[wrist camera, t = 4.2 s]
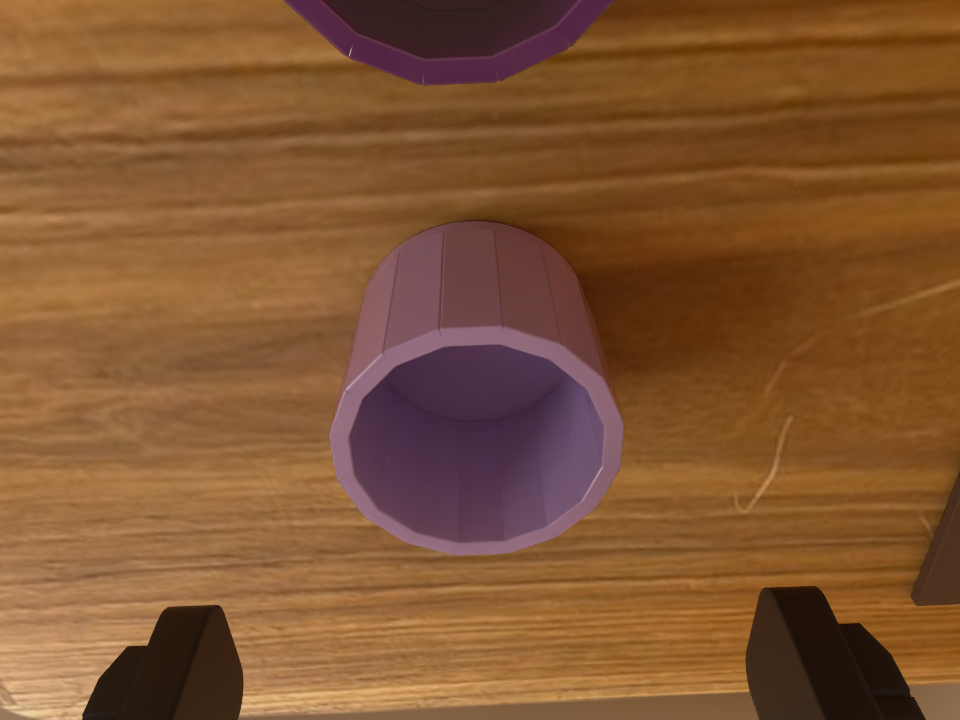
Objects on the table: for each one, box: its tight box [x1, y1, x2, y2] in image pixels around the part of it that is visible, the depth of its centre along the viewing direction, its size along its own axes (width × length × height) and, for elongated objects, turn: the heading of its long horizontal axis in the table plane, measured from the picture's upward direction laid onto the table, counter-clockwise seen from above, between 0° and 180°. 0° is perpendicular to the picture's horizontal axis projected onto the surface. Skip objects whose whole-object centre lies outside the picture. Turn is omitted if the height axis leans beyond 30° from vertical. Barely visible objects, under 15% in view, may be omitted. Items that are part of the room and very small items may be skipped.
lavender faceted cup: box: [329, 221, 624, 555], centre depth 17 cm, size 6×6×5 cm
